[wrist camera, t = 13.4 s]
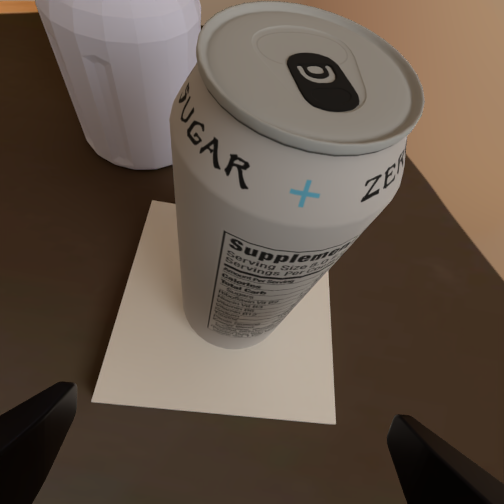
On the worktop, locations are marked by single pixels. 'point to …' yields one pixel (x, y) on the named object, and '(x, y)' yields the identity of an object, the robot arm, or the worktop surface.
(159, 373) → the pad
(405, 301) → the worktop surface
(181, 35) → the soap bottle
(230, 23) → the energy drink can
